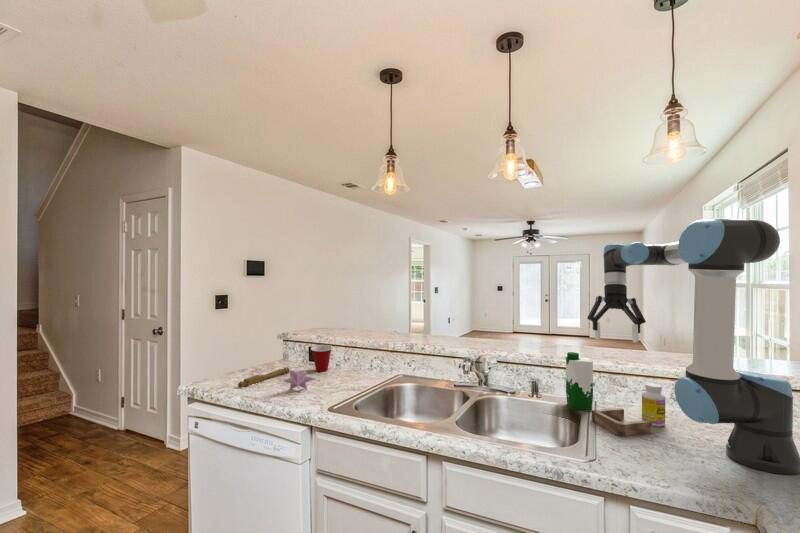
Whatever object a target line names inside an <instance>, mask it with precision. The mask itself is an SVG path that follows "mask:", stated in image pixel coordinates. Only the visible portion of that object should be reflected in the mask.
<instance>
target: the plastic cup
mask: <svg viewBox="0 0 800 533" xmlns="http://www.w3.org/2000/svg"><path fill="white" fill-rule="evenodd" d="M332 349H333V346H332V345H328V344H318V345H314V346H312V347H310V351H311V352H312V356H313V361H314V362H313V363H314V366H315V371H316V372H319V373H321V372H322V373H323V372H328V369H329V364H330V358H331V353H332Z"/></svg>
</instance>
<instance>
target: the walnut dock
mask: <svg viewBox="0 0 800 533" xmlns="http://www.w3.org/2000/svg"><path fill="white" fill-rule="evenodd" d="M592 420H593V421H594V423H595V424H597V425H599V426H601V427H602V428H604V429H606V430H607V431H610V432H611V433H613V434H616V435H617V436H619V437H627V436H637V435H645V434H647V435H648V434H653V426H652V422H651V421H649V420H645V421H642V420H636V421H628V422H624V421H623V420H625V409H624V408H622V407H617V408H616V407H615V408H614V407H613V408H603V409H602V408H601V409H592V411H591V421H592ZM593 421H592V422H593ZM620 421H623V422H620Z"/></svg>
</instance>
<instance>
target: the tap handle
mask: <svg viewBox="0 0 800 533" xmlns="http://www.w3.org/2000/svg"><path fill="white" fill-rule="evenodd" d="M289 370H290V368H289V367H288V366H287V367H283V368H279V369H277V370H274V371H271V372H268V373H266V374H261V375H260V374H257V375H254V376H253V375H252V376H250V377H247V378H243V381H241V380H240V381H239V382H237V386H238V388H239V387H243V388H244V387H250V386H249V385H251V386H253V385H252V384H254V385H257V384H260V383H263V382H264V381H265V380H268V379H271V378H275V377H279V376H283V375H284V374H289ZM259 382H260V383H259ZM256 383H257V384H256Z"/></svg>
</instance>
